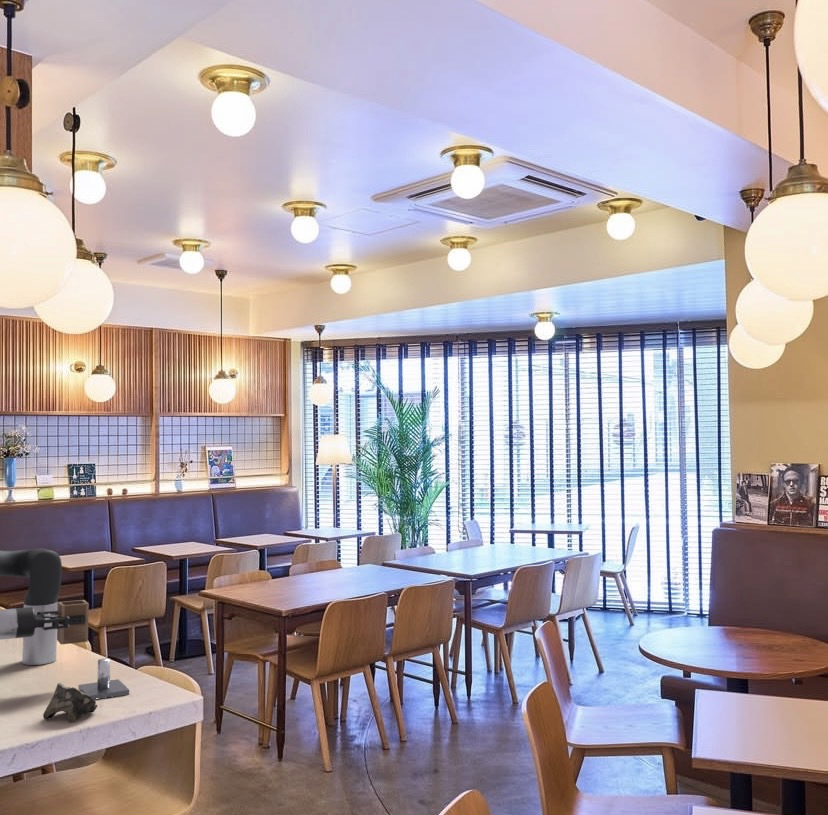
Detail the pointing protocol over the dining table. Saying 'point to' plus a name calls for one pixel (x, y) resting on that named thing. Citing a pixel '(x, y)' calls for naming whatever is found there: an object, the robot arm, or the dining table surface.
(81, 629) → the walnut sleeve
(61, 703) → the fossil
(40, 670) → the dining table surface
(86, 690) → the post plate
